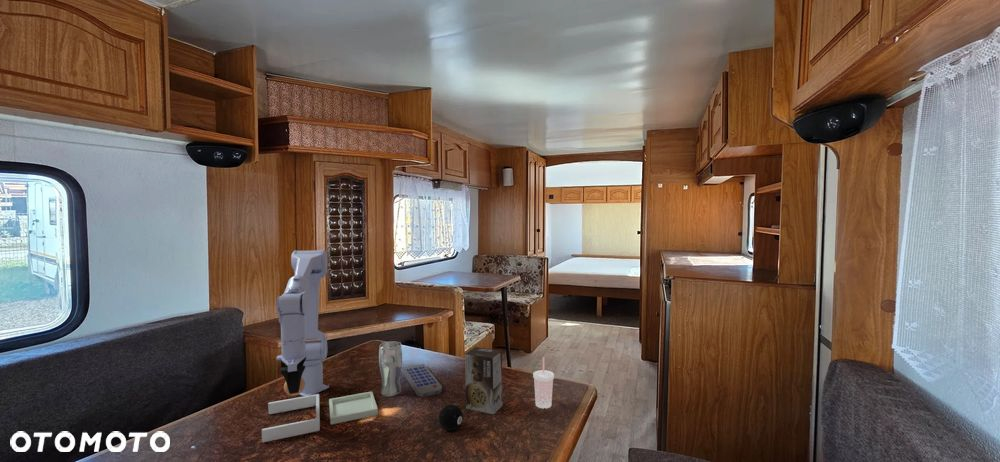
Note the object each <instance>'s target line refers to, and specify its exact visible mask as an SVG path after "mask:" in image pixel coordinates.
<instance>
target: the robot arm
mask: <svg viewBox="0 0 1000 462" xmlns="http://www.w3.org/2000/svg"><path fill="white" fill-rule="evenodd" d="M290 257H291V258H290V263H291V267H292V268H291V269H293V273H294V275H293V276H292V277H290V278H289V280H288V281H287V284H286V288H285V289H284V292H283V294H281V296H280V295H279V296H278V297H277V299H276V314H277V316H278V317H277V318H278V324H280V344H281V345H280V347H281V349H280V350H281V354H280V355H277V356H276V361H281V362H282V363H283V364H284V366H283V367H281V368H280V373H281V375H282V376H283V378H284V380H285V382H286V383H287V387H288V391H289V393H290V394H293V393H298V392H299V388H300V381H301V377H302V378H303V379H304V381H305V387H304V389H303V391H302V392H301V393H300V394H298V395H299V396H301V397H304V396H310V395H315V394H319V393H320V392H323V391H324V390H328V389H329V388H330V386H329V385H326V384H324V377H323V376H324V374H323V373H324V372H323V361H325V360H326V359H327V356H328V337H327V335H326V334H325V333H324V332H322V331H321V330H319V311H320V310H319V307H320V285H321V280H322V278H324V277H327V273H328V252H327V251H326V250H325V249H321V250H320V249H319V250H314V249H313V250H296V249H295V250H293V252H292V253H291V256H290Z"/></svg>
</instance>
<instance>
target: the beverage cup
mask: <svg viewBox="0 0 1000 462" xmlns="http://www.w3.org/2000/svg"><path fill="white" fill-rule="evenodd" d="M532 378H533V383H534V397H535V399H534V401H535V406H536V407H538V408H539V409H544V408H545V409H549V408H551V407H552V402H553V388H554V387H553V386H554V379H555V373H554V372H553V371H550V370H547V369H546V370H545V356H542V369H539V370H535V371H533V373H532Z"/></svg>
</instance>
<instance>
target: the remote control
mask: <svg viewBox="0 0 1000 462" xmlns="http://www.w3.org/2000/svg"><path fill="white" fill-rule="evenodd" d="M401 372H402V374H403V375H404V377H405V378H406V380H407V381H408V383H409V384H410V387H411V388H412V389H413V391H414V392H415V394H416V396H417V397H422V398H424V397H427V396H428V397H429V396H433V395H437V394H441V393H442V390H443V386H442V384H441V383H440V382H439V381H438V379H437V378H436V377H435V375H434V374H433V373H432V372H431V371H430V369H429V368H428V367H427V366H426V365H425V363H421V364H413V365H409V366H402V367H401Z"/></svg>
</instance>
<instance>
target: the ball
mask: <svg viewBox="0 0 1000 462" xmlns="http://www.w3.org/2000/svg"><path fill="white" fill-rule="evenodd" d="M304 387H305V381H304V379H303V378H302V377H301V381H300V388H299V392H298V393H293V394H290V393H289V391H288V387H287V383H286V381H285V382H284V385H283V390H284V392H285V393H286V394H287V395H288V396H298V395H299V394H300V393H301V392H302V391H303V389H304Z"/></svg>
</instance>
